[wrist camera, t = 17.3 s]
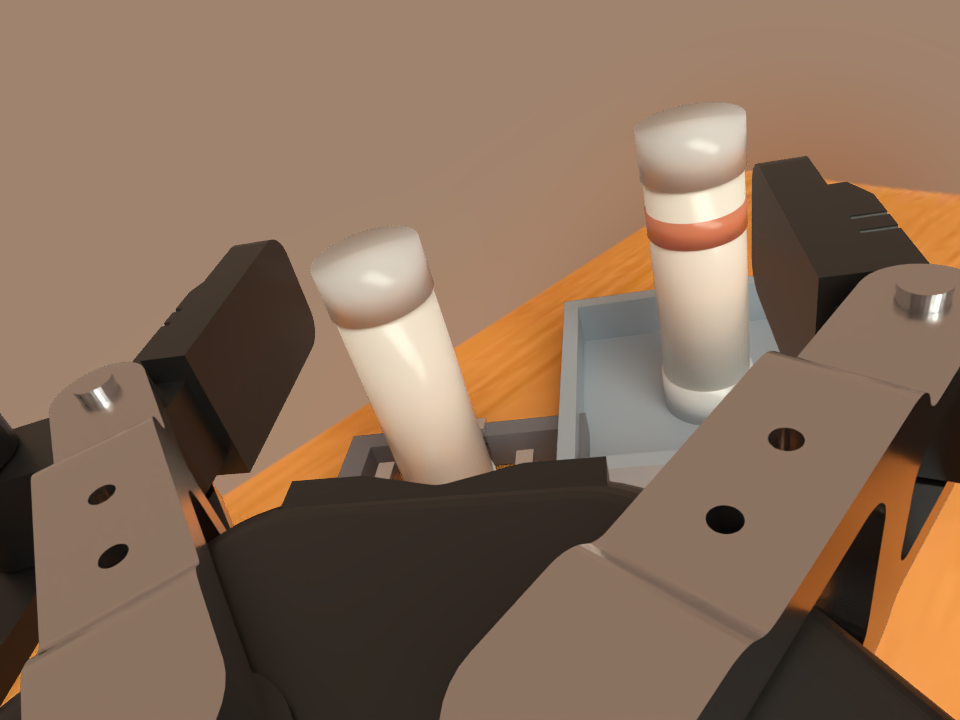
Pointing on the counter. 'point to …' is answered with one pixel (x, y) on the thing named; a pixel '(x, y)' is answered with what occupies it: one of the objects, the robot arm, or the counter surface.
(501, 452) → the clip holder
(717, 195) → the banded white cylinder
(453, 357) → the fuse
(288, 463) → the counter surface
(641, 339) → the tray
